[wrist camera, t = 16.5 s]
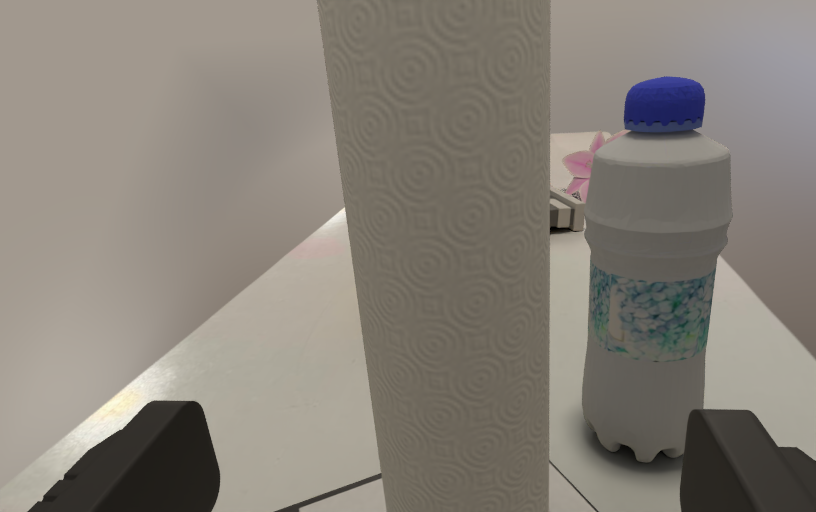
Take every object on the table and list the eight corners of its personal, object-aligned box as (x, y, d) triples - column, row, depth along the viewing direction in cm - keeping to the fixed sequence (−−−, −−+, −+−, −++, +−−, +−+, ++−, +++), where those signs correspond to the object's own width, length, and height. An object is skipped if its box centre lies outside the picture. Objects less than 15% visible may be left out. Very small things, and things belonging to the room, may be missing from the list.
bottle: (628, 387, 36) (648, 71, 29) (728, 442, 30) (784, 68, 23) (553, 426, 33) (556, 84, 26) (649, 496, 27) (687, 84, 20)
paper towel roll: (408, 660, 18) (313, -41, 11) (386, 520, 24) (314, -6, 17) (605, 614, 19) (643, -66, 12) (540, 489, 25) (537, -24, 17)
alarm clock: (585, 203, 64) (453, 210, 62) (581, 240, 66) (452, 248, 63) (531, 175, 80) (424, 180, 78) (529, 205, 82) (424, 211, 79)
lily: (563, 193, 86) (541, 145, 81) (637, 161, 82) (619, 109, 77) (578, 238, 77) (554, 187, 72) (663, 205, 73) (644, 149, 67)
